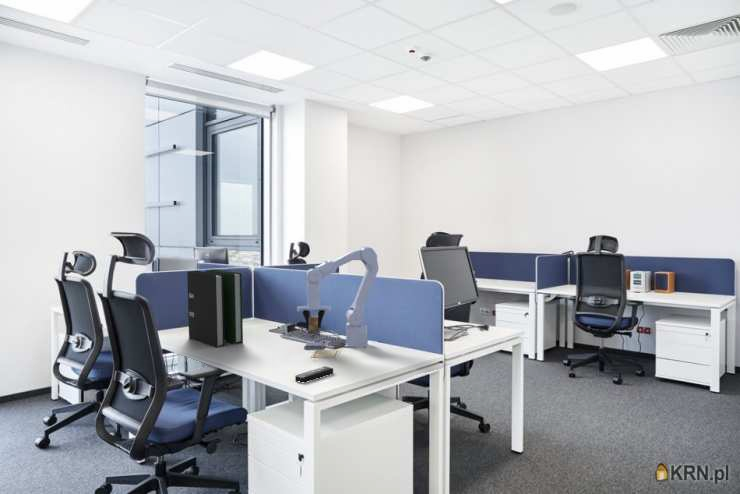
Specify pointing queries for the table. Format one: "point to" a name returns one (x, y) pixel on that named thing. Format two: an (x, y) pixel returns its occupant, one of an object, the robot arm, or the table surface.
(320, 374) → the multiport hub
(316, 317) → the stamp
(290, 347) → the table surface
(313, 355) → the card
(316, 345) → the pad
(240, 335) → the binders
